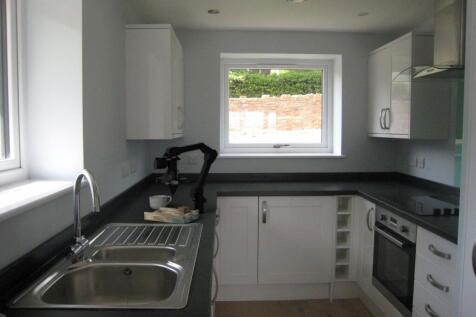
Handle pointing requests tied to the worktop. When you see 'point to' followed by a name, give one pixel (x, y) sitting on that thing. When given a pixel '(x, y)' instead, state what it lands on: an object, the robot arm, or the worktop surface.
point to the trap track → (171, 215)
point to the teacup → (159, 201)
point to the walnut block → (183, 210)
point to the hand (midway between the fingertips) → (172, 195)
